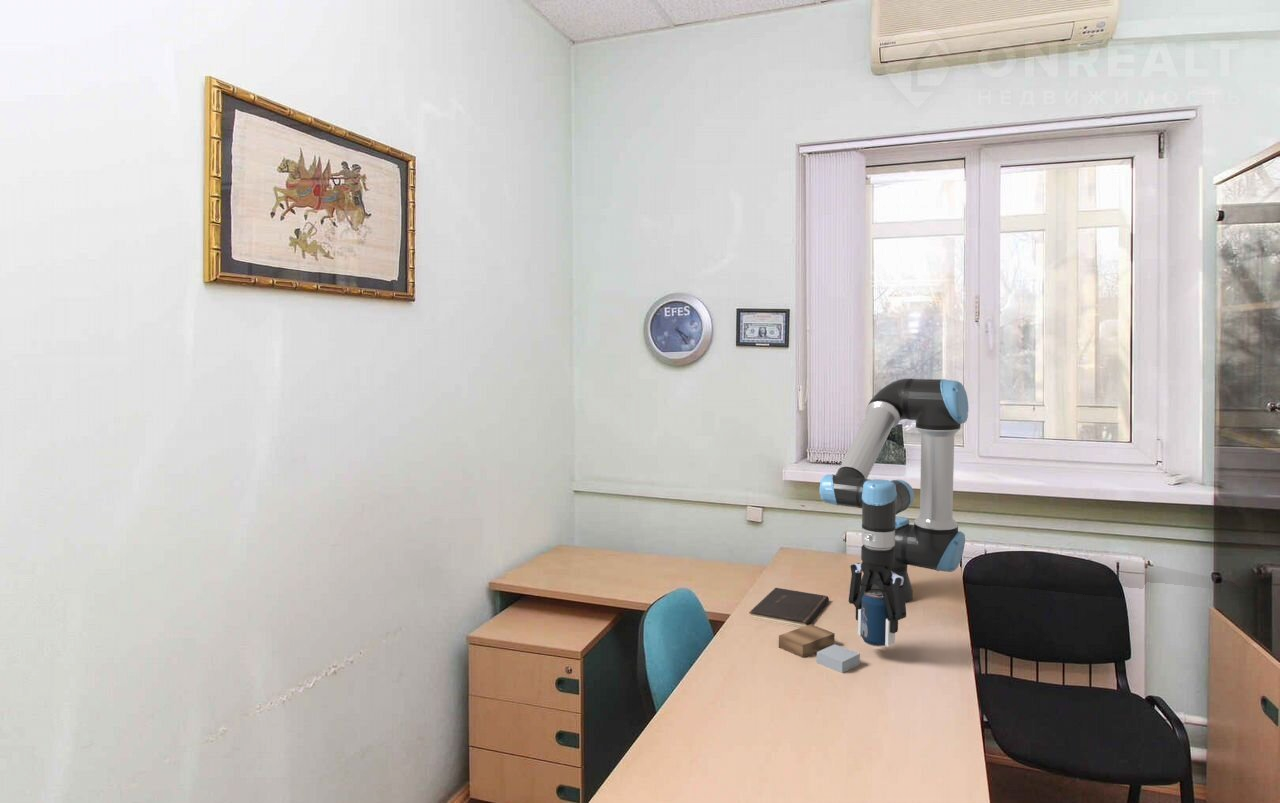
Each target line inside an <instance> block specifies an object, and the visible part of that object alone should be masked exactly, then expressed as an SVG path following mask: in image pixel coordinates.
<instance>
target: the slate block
mask: <svg viewBox="0 0 1280 803" xmlns="http://www.w3.org/2000/svg"><path fill="white" fill-rule="evenodd" d="M860 662H861V652H857V651H854V650H852V649H849V648H845V647H843V646H840V645H838V644H836V643H834V645H832V646H829V647H827V648H825V649H823V650H820V651H818V652H816V664H817V665H821V666H823V667H825V668H828V669H830V670H832V671H836V672H838V673H841V674H844V673H846V672H847V671H849V670H851V669H853V668H856V667H857V666H860V665H861V663H860Z"/></svg>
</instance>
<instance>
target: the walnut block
mask: <svg viewBox="0 0 1280 803" xmlns="http://www.w3.org/2000/svg"><path fill="white" fill-rule="evenodd" d="M834 644H835V632H832V631H829V630H826V629H824V628H821V627H819V626H816V625H814V624H812V623H811V624H810V625H807V626H804V627H801V628H800V627H797V628H796V629H794V630H790V631H788V632H785V633H783V634H779V635H778V648H780V649H782V650H784V651H787V652H788V653H790V654H793V655H796V656H798V657H800V658H805V657H808V656H810V655H813V654H814V653H817V652H818V651H820V650H823V649H825V648H827V647H829V646H832V645H834Z"/></svg>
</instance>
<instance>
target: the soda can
mask: <svg viewBox="0 0 1280 803" xmlns="http://www.w3.org/2000/svg"><path fill="white" fill-rule="evenodd" d="M887 618H889V616H888V612H887V609H886V604H885V602H884V597H883V595H882V592H881V591H880V589H870V590H869V591H867V592H866V591H865V592H864V595H863V597H862V607H861V636H860V637H861V638H862V640H863V642H864V643H866V644H867V645H869V646H873V647H886V646H885V634H886V619H887Z"/></svg>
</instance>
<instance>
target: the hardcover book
mask: <svg viewBox="0 0 1280 803" xmlns="http://www.w3.org/2000/svg"><path fill="white" fill-rule="evenodd" d="M829 600H830V598H829V596H828V595H824V594H818V593H817V594H816V593H811V592H810V593H809V592H805V591H799V590H793V589H787V588H786V589H785V588H779V587H774V589H773V590H771V591H770V592H769V593H768V594H767V595H766V596H765V597H764V598H763V599H762V600H761V601H760V602H758V604H756V605H755V606H754V607H753V608H752V609H751V610H750V611H749V612H748V613H749V614H750V619H753V620H759V621H762V622H769V623H775V624H778V625H785V626H791V627H796V628H801V627H804V626H807V625H810V624H811V625H812V624H813V622H815V620H816V619H817V617H818V616H819V614H821V613H822V611H823V610H824V609H825V607H826V606H827V605H828V604H829V602H830V601H829Z"/></svg>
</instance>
